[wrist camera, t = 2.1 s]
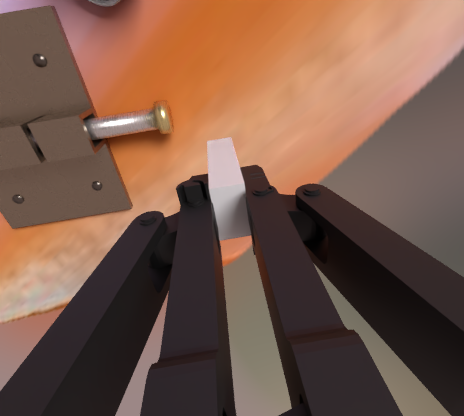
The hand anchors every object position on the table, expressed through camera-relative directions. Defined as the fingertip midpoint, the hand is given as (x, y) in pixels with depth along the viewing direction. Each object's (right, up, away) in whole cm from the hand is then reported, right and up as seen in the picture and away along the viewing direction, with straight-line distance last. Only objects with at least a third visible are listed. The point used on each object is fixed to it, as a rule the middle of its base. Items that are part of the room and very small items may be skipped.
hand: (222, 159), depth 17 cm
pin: (-15, +6, +14) cm, 22 cm away
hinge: (-22, +5, +14) cm, 27 cm away
